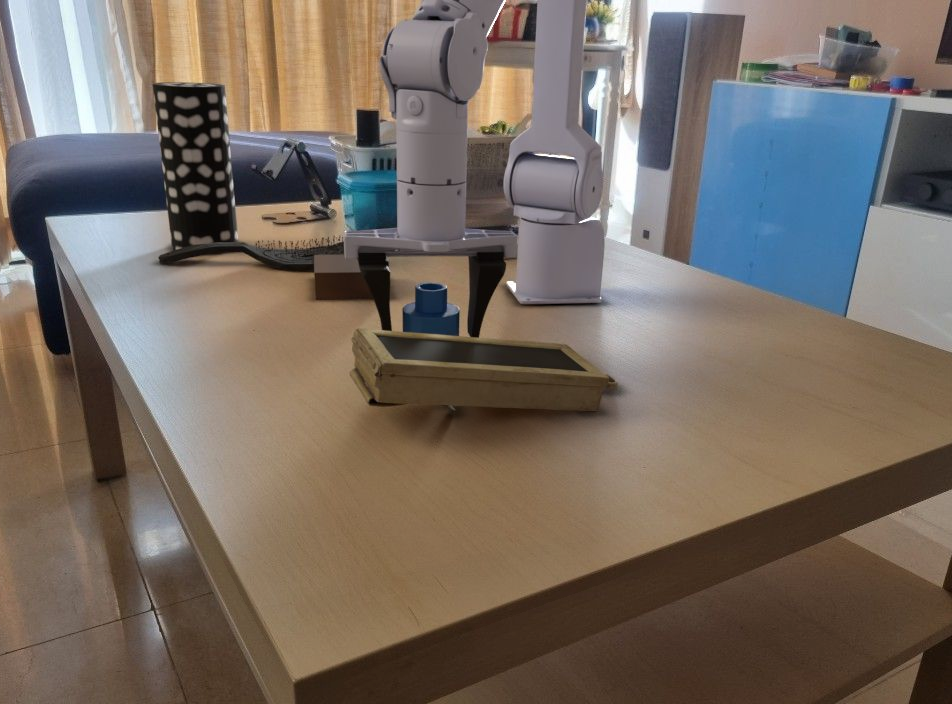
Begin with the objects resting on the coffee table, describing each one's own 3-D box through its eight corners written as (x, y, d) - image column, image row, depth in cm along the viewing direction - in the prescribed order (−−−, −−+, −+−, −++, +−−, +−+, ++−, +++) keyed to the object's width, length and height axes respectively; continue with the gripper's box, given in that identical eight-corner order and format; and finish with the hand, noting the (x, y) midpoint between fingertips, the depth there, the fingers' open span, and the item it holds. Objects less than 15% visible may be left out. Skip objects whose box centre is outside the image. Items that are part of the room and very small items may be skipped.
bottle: (453, 351, 78) (454, 278, 75) (462, 371, 73) (463, 294, 71) (400, 353, 77) (399, 279, 74) (406, 373, 72) (405, 295, 70)
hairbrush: (163, 232, 104) (365, 224, 108) (168, 261, 106) (367, 252, 109) (147, 248, 97) (365, 238, 100) (153, 279, 98) (368, 268, 102)
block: (383, 278, 100) (383, 254, 98) (389, 298, 92) (389, 271, 91) (315, 279, 98) (313, 254, 97) (315, 299, 91) (314, 272, 90)
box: (341, 386, 65) (349, 325, 64) (584, 395, 76) (598, 343, 74) (369, 431, 59) (379, 365, 57) (632, 434, 69) (648, 378, 67)
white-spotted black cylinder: (252, 246, 111) (239, 86, 103) (200, 257, 105) (182, 87, 97) (210, 236, 115) (194, 81, 107) (158, 246, 109) (137, 82, 101)
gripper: (343, 187, 63) (349, 354, 69) (528, 189, 67) (520, 349, 72) (340, 173, 70) (346, 327, 75) (509, 175, 73) (503, 323, 78)
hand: (430, 336), depth 74 cm, fingers open, 7 cm apart
